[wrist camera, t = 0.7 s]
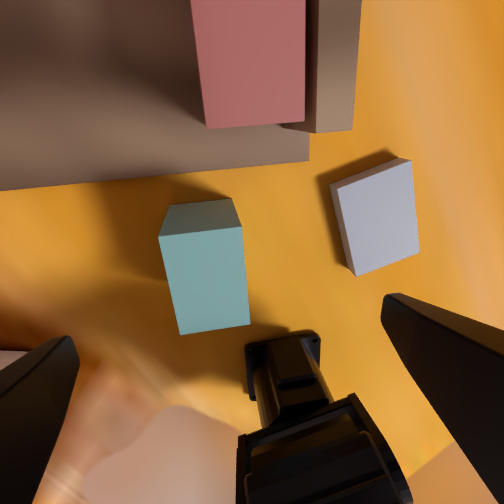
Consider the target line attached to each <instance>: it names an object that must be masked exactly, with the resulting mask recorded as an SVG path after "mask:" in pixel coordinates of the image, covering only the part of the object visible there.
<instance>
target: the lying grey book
mask: <svg viewBox="0 0 504 504" xmlns="http://www.w3.org/2000/svg"><path fill="white" fill-rule="evenodd" d="M329 187H330V191H331V195H332V200H333V204H334V209H335V213H336V217H337V222H338V226H339V231H340V235H341V239H342V244H343V248H344V253H345V257H346V261H347V266H348V269H349V270H350V271H351V272H352V273H353V274H354V275H355V276H356V277H357V276H360V275H362V274H365V273H367V272H370V271H373V270H375V269H378V268H381V267H383V266H386V265H388V264H391V263H394V262H396V261H399V260H401V259H404V258H407V257H409V256H412V255H414V254H417V253H420V251H419V240H418V229H417V218H416V207H415V197H414V186H413V175H412V164H411V160H407V159H403V158H396V159H393V160H391V161H388V162H386V163H383V164H381V165H378V166H375V167H373V168H370V169H368V170H365V171H363V172H360V173H358V174H355V175H353V176H350V177H347V178H345V179H342V180H340V181H337V182H335V183H332V184H330V185H329Z"/></svg>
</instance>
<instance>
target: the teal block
mask: <svg viewBox="0 0 504 504" xmlns="http://www.w3.org/2000/svg"><path fill="white" fill-rule="evenodd" d="M158 239H159V244H160V248H161V252H162V257H163V261H164V266H165V270H166V275H167V279H168V283H169V288H170V292H171V297H172V301H173V306H174V310H175V314H176V319H177V323H178V328H179V332H180V335H185V334H191V333H198V332H204V331H210V330H217V329H223V328H230V327H236V326H242V325H249V324H250V313H249V302H248V291H247V280H246V269H245V258H244V247H243V235H242V226H241V223H240V220H239V218H238V215H237V212H236V209H235V206H234V204H233V201H232V198H230V199H221V200H212V201H203V202H194V203H184V204H175V205H169V208H168V210H167V213H166V216H165V219H164V221H163V224H162V227H161V230H160V232H159V235H158Z"/></svg>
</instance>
